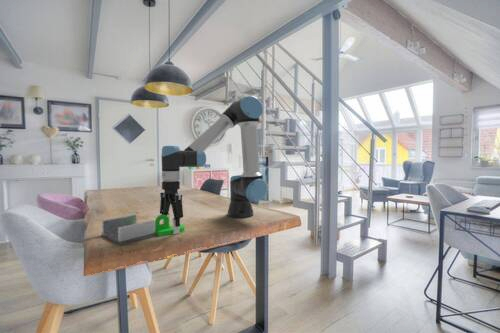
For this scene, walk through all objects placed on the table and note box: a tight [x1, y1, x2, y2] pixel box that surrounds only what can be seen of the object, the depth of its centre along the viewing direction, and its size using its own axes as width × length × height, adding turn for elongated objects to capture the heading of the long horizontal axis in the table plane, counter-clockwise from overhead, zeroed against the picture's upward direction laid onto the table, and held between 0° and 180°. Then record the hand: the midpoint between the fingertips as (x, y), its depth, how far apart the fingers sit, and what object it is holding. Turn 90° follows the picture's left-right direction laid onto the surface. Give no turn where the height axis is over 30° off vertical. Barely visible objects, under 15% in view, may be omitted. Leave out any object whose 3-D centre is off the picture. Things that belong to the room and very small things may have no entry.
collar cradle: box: [100, 213, 156, 246], centre depth 102 cm, size 19×14×6 cm
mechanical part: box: [154, 214, 185, 237], centre depth 106 cm, size 12×6×8 cm, turn 124°
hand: (171, 231), depth 106 cm, fingers open, 7 cm apart
